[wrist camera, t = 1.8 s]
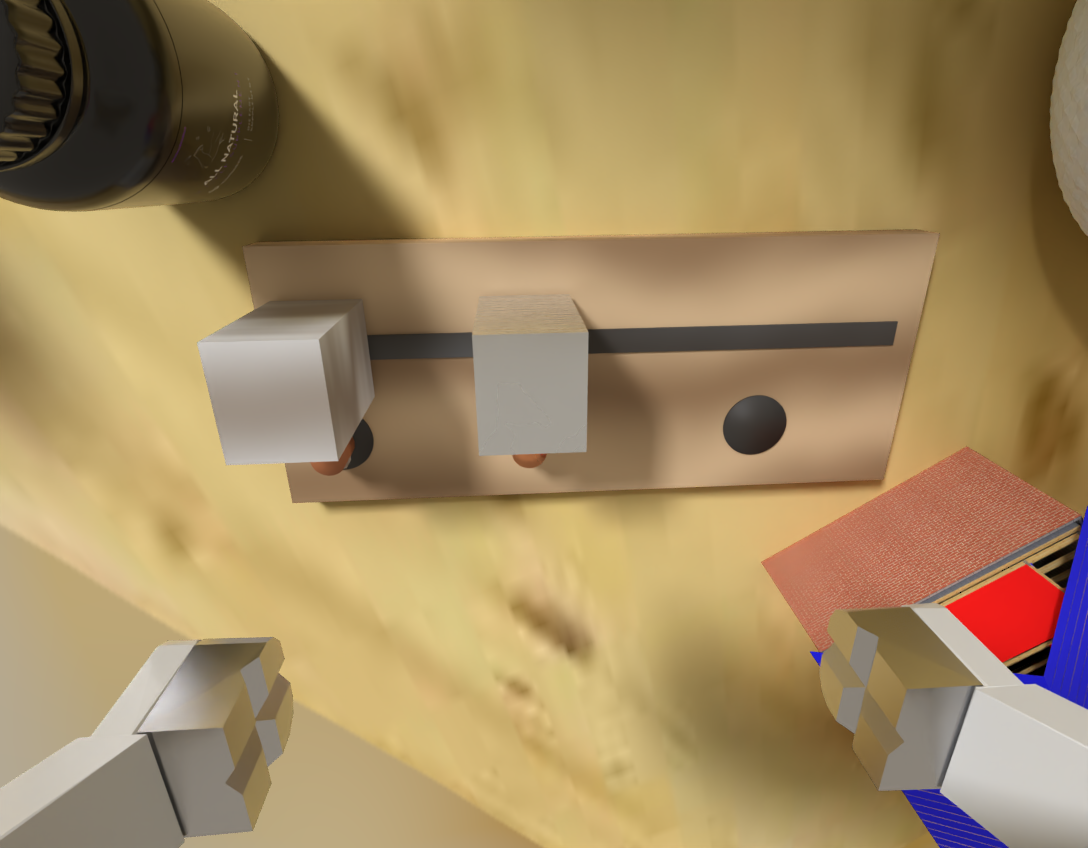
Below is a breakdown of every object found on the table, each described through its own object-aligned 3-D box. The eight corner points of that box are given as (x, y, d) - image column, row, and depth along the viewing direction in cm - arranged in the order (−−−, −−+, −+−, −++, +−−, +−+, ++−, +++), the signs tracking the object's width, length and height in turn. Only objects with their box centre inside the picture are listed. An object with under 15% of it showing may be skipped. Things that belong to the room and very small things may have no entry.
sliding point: (479, 296, 24) (472, 335, 18) (569, 294, 24) (588, 332, 18) (487, 452, 26) (483, 527, 21) (568, 448, 27) (585, 522, 21)
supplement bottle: (307, 189, 24) (133, 208, 13) (130, 210, 24) (-201, 249, 12) (254, -25, 21) (-26, -240, 10) (54, -1, 21) (-453, -190, 10)
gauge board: (257, 242, 24) (152, 273, 17) (916, 229, 26) (1077, 254, 18) (302, 486, 28) (234, 594, 21) (865, 465, 30) (980, 559, 23)
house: (968, 435, 30) (1229, 586, 19) (1073, 681, 37) (1307, 893, 26) (751, 558, 32) (876, 757, 21) (890, 769, 39) (1037, 998, 28)
